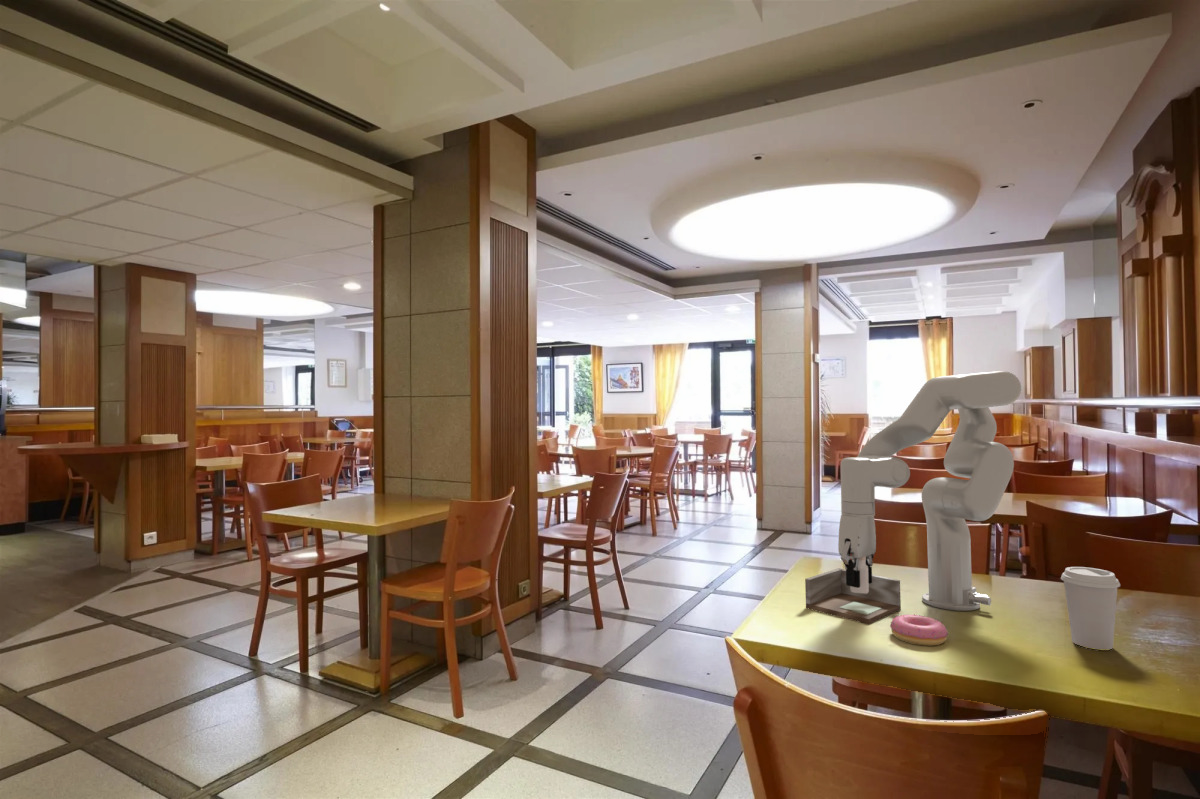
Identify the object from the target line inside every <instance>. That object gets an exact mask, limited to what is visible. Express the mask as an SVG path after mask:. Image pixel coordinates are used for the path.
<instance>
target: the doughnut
mask: <svg viewBox="0 0 1200 799" xmlns="http://www.w3.org/2000/svg"><path fill="white" fill-rule="evenodd" d="M889 625H890V626H889V627H890V629H891V633H892V634H893V636H894V637H896V638H897V639H898V640H900V641H903V642H905V643H908V644H911V645H915V646H927V647H931V646H933V647H934V645H935V646H939V645H941V644H944V643H945V642H946V640H947V639H948V637H947V636H948V635H949V633H948V630H947V627H946V626H945V624H944V623H942V622H941V621H940V620H938V619H935V618H933V617H928V616H925V615H920V614H903V615H902V614H900V615H897V616H895V617H894V618H892V620H891V621H890V624H889Z"/></svg>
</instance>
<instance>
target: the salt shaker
mask: <svg viewBox="0 0 1200 799" xmlns="http://www.w3.org/2000/svg"><path fill="white" fill-rule="evenodd" d="M851 556H854V554H851ZM851 560H852V561H853V563H854V560H855V559H851ZM858 570H859V571H860V587H859V588H856V587H852V586H850V590H851V592H854V593H864V594H866V593H868V592H869V583H868V566H867V565H866V556H864V557H861V558H859V565H858Z"/></svg>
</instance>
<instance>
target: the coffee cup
mask: <svg viewBox="0 0 1200 799" xmlns="http://www.w3.org/2000/svg"><path fill="white" fill-rule="evenodd" d="M1060 580H1061V581H1063V583H1064V585H1063V586H1064V592H1065V593H1064V594H1065V599H1066V605H1067V613H1068V620H1069V621H1068V622H1069V627H1070V632H1071V633H1070V634H1071V642H1072V643H1073V642H1074V643H1075V644H1078V645H1080V646H1084V647H1088V648H1095V649H1112V648H1113V649H1114V639H1115V623H1116V611H1117V610H1116V608H1117V598H1118V588H1121V583H1120V581H1119V579H1118V578H1116V575H1115V573H1114V572H1112V571H1109V570H1106V569H1105V570H1104V569H1100V568H1094V567H1085V566H1070V567H1069V566H1068V567H1065V569H1064V572H1062V573H1061V577H1060ZM1074 643H1073V644H1074ZM1075 644H1074V645H1075ZM1080 646H1079V647H1080ZM1113 649H1112V650H1113Z"/></svg>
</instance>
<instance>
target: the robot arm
mask: <svg viewBox="0 0 1200 799" xmlns="http://www.w3.org/2000/svg"><path fill="white" fill-rule="evenodd" d="M1021 393H1022V385H1021V381H1020V379H1019V377H1017V375H1015V374H1014V373H1013V372H1010V371H1005V370H1001V371H998V370H997V371H988V372H976V373H974V372H973V373H968V374H967V373H966V374H956V375H943V376H936V377H932V378H930V379H929V380H928V379H927V381H925V383H924V384H923V385H922V387H921V388H920V389H919V391H918V393H917V394H916V395H915V397H914V398H913V400H912V401H911V402H910V404H909V405H908V406H907V407H906V409H905V410H904V411H903V413H902V414H901V415H900V417H899V418H898V419H897V420H895V421H893V422H892V423H890V424H889V425H888V426H886V427H885V428H883V429H882V430H880V431H879V432H877V433H875V434H874V435H873V436H872V437H871V438H870V439H869V440H868V441H867V442H866V444H865V445H864V446H863V447H862V448H861V450H860V452H859V453H858V455H857V456H856V457H844V458H842V459H841V461H840V494H841V496H840V497H841V498H840V499H841V500H840V501H841V502H840V506H841V507H840V509H841V511H840V512H841V515H840V519H839V528H838V529H839V530H838V544H837V545H838V546H837V547H838V551H837V552H838V554H839V555H840V559H841V561H842V562H843V564H844V569H845V570H846V585H847V586H852V587H856V588H859V587H860V571H859V570H858V565H859V558H861V557H864V556H866V565H867V566H868V583H869V584H870V583H872V575H873V570H872V569H873V564H874V562H873V559H874V556H875V553H876V551H877V538H876V537H877V534H876V532H877V531H876V521H875V516H876V503H875V502H876V498H875V494H876V493H875V492H876V491H875V489H876V487H880V488H889V489H896V488H900V487H902V486H904V485H905V484H906V483H907V482H908V481H909V479H910V477H911V471H910V467H909V465H908V464H907V463H906V462H905V461H904V460H902V458H898V457H894V455H895V454H897V453H899V452H900V451H901V450H904V449H906V448H910V447H912V446H915V445H918V444H921V443H924V442H925V441H928V440H929V439H931V438H932V437H933V436H934V434H935V433H936V432H937V430H938V429H939V428H940V425H941V424H942V423H943V422H944V420H945V419H946V417H947V416H948V415H949V413H950V412H951V411H952V410H957V411H958V414H959V415H958V416H959V421H958V426H957V428H956V430H955V433H954V435H953V436H952V440H951V441H950V443H949V446H948V447H947V450H946V452H945V455H944V459H943V466H944V469H945V471H946V472H947V473H949V474H950V475H952V476H954V478H953V477H943V476H942V477H935V478H931V479H930V480H928V481H927V482H926V483H925V484H924V486H923V488H922V490H921V501H922V507H923V511H924V516H925V521H926V533H927V534H926V535H927V536H926V537H927V540H926V542H927V543H926V544H927V572H928V573H927V575H928V576H927V577H928V592H926V593H923V594H922V595H921V599H922V602H923V603H924V604H927V605H928V606H932V607H935V608H939V609H943V610H951V611H960V612H963V611H964V612H967V611H976V610H978V609H980V608H981V605H985V606H991V604H992V598H991V597H990V596H989V595H987V594H984V593H983V594H982V593H981V594H980V593H979V592H977V587H975V586H973V585H972V584H973V582H972V579H973V578H972V554H971V553H972V548H971V543H972V542H971V533H970V528H969V526H968V523H967V521H966V520H969V521H975V522H983V521H986V520H988V519H990V518H991V517H992V516H993V515H994V514H995V513H996V511H997V510H998V507H999V506H1000V503H1001V500H1002V499H1003V497H1004V493H1005V492H1006V489H1007V487H1008V485H1009V482H1010V480H1011V478H1012V475H1013V472H1014V469H1015V468H1014V466H1015V462H1014V461H1015V460H1014V456H1013V453H1012V452H1011V450H1010V448H1009V447H1008V446H1006V445H1005V444H1003V443H1000V442H996V441H994V440H995V437H996V435H997V427H998V426H997V422H996V419H995V416H994V414H993V413H992V411H991V409H990V408H993V407H995V408H996V407H1002V406H1003V407H1004V406H1009V405H1011V404H1013V403H1014V402H1016V401H1017V400H1018V398H1019V397H1020V395H1021ZM955 477H959V478H955ZM961 478H964V479H961ZM965 478H966V479H965ZM852 554H854V556H852ZM852 559H855V560H854V563H853V561H852Z"/></svg>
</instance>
